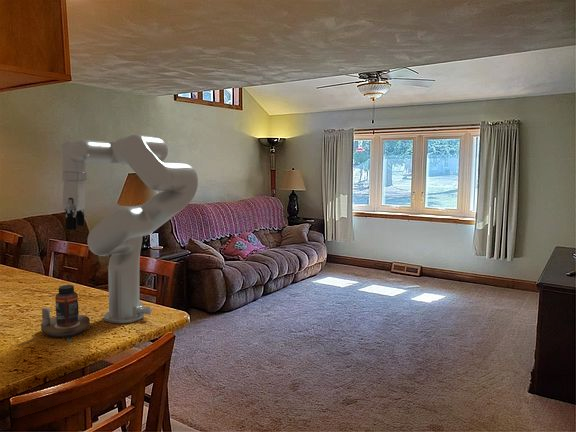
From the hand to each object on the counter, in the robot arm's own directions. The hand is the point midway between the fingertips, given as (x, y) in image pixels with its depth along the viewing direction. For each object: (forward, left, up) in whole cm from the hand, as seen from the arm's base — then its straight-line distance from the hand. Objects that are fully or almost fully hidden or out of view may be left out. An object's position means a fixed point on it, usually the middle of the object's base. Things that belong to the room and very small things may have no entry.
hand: (75, 227), depth 152 cm
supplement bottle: (-10, +24, -25) cm, 36 cm away
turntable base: (-8, +23, -28) cm, 38 cm away
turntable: (-8, +22, -27) cm, 36 cm away
